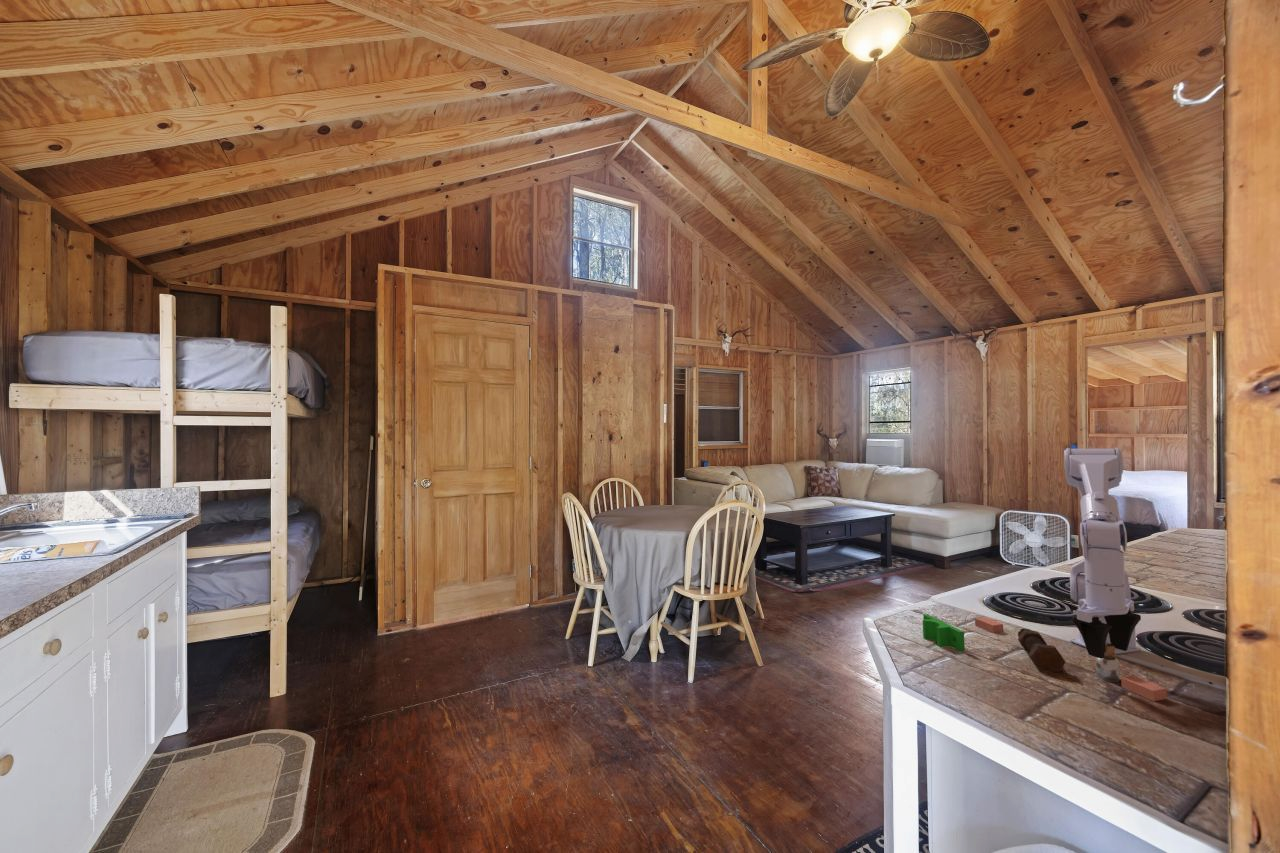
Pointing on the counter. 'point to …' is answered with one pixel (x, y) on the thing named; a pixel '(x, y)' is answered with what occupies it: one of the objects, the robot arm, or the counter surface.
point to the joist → (989, 624)
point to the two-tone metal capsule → (1108, 665)
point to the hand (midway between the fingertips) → (1107, 652)
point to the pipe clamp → (942, 633)
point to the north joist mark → (1144, 688)
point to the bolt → (1040, 651)
